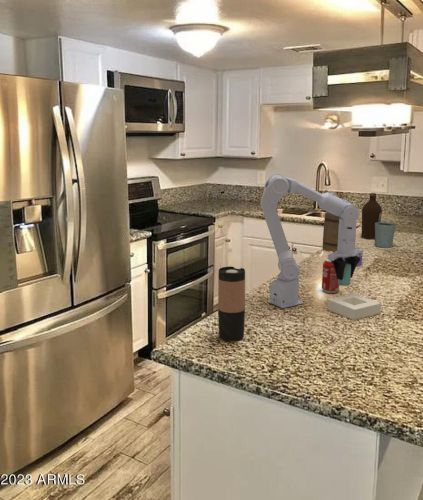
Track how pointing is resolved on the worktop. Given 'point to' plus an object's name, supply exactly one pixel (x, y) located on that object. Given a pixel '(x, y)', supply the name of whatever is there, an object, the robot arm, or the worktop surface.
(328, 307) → the well block
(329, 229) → the wooden container
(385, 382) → the worktop surface
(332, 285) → the beverage can
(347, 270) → the teal dowel
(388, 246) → the drinking glass
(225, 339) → the travel mug
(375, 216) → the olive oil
